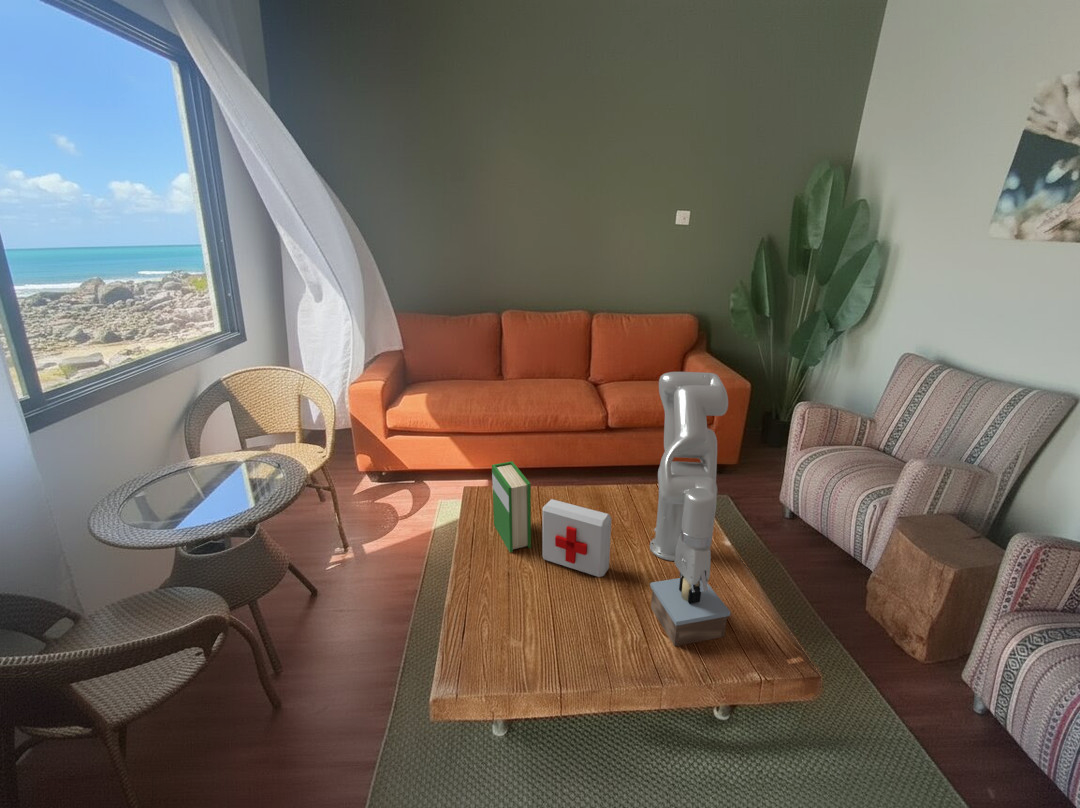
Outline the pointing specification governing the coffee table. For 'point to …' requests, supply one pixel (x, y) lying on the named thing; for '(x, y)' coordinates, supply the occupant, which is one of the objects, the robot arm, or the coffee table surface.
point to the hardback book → (511, 505)
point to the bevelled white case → (576, 537)
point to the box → (687, 626)
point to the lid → (680, 607)
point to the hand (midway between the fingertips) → (689, 595)
